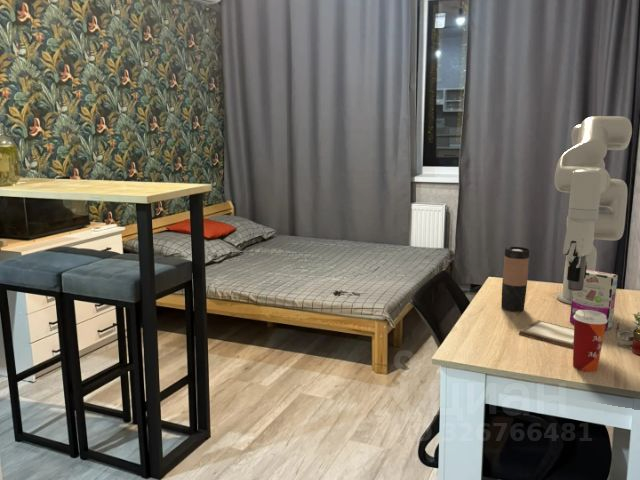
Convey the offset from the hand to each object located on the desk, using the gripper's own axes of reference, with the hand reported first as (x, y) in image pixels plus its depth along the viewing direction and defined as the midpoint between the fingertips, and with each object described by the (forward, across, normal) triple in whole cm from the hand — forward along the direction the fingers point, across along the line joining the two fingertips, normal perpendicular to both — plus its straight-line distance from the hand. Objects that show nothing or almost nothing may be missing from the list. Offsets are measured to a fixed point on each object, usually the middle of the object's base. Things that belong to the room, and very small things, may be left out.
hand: (576, 278), depth 162 cm
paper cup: (+17, +19, +11) cm, 28 cm away
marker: (+3, 0, 0) cm, 3 cm away
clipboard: (+17, +2, -3) cm, 18 cm away
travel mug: (+17, -13, -23) cm, 32 cm away
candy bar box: (+17, -15, 0) cm, 23 cm away
